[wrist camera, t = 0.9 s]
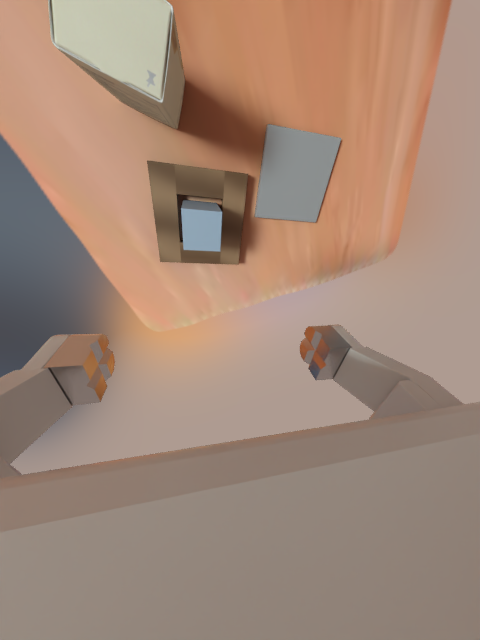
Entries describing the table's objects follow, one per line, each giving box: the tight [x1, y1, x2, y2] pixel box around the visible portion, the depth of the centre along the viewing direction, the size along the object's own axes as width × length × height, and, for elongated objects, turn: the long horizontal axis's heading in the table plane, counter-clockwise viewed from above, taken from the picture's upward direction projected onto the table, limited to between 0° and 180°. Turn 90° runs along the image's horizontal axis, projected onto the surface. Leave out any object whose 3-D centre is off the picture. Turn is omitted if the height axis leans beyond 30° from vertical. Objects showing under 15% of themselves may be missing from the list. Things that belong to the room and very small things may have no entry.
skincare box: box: [48, 0, 185, 129], centre depth 16 cm, size 6×4×12 cm
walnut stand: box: [147, 161, 248, 264], centre depth 28 cm, size 12×12×2 cm
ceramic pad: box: [255, 124, 341, 222], centre depth 28 cm, size 10×10×1 cm
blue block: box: [181, 200, 222, 252], centre depth 26 cm, size 4×4×7 cm
